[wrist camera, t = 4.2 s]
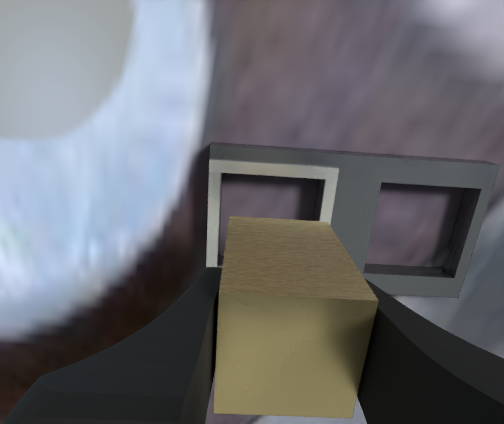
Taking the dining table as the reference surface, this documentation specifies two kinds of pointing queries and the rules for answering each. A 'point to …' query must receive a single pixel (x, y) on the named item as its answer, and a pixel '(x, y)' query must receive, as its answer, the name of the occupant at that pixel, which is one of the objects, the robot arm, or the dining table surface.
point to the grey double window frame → (364, 204)
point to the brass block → (290, 321)
